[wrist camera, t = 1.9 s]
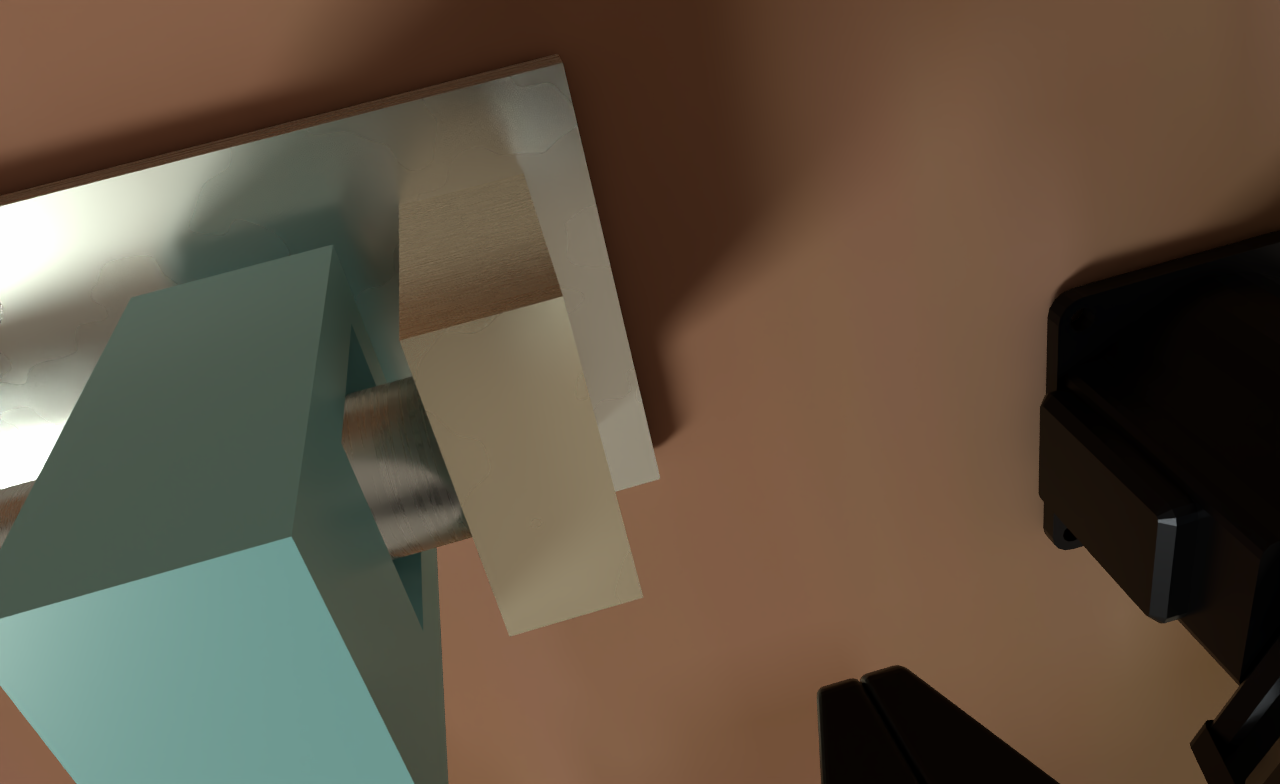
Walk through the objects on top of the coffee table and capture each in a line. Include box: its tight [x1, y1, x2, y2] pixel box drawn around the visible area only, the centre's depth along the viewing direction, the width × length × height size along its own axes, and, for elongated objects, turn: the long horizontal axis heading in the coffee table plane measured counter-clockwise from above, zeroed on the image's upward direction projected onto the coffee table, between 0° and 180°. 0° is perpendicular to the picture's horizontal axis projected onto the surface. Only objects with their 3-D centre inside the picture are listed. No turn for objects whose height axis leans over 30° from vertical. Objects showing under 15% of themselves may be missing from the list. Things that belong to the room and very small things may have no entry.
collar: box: [0, 244, 448, 784], centre depth 14 cm, size 3×5×7 cm, turn 11°
